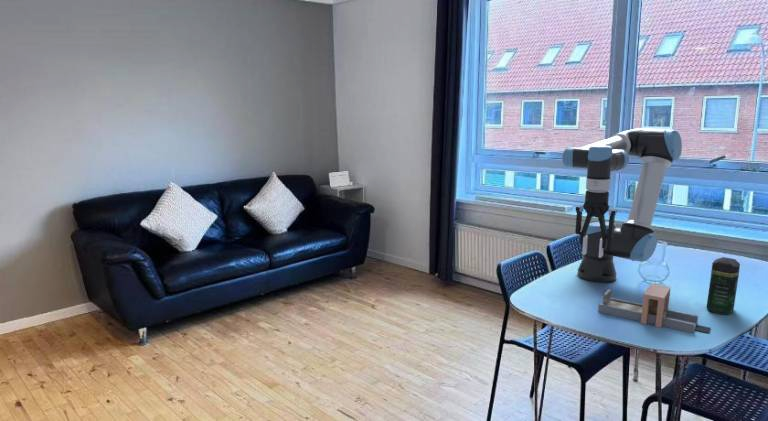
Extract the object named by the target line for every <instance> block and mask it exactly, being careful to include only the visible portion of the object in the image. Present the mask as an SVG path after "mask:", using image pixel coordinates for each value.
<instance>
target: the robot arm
mask: <svg viewBox="0 0 768 421" xmlns="http://www.w3.org/2000/svg"><path fill="white" fill-rule="evenodd" d="M682 143H683V142H682V137H681V134H680V132H678V131H677V130H675V129H667V128H663V129H662V128H640V127H639V128H633V129H632V128H631V129H629V130H623V131H621V132H617V133H614V134H613V135H611V136H610V137H609V138H607V139H606V138H605V139H603V140H599V141H596V142H594V143H589V144H586V145H584V146H579V147H575V146H573V147H571V146H570V147H566V148H565V149H564V150H563V152H562V155H561V156H562V163H563V165H564V167H568V168H572V169H585V170H586V171H587V172H586V183H585V189H586V191H585V196H584V203H583V205H577V206H576V207H575V208H574V209H575V212H576V217H575V232H574V233H575V235H578V236H580V239H579V244H580V246H582V251H581V255H582V259H581V262H580V263H579V265H578V268H577V276H578V277H579V278H580V279H583V280H586V281H590V282H595V283H596V282H597V283H610V282H615V281H616V280H617V271H616V266H615V263H614V257H615V258H622V259H625V260H629V261H630V260H631V261H633V262H640V263H642V262H647V261H649V259H651V257H652V256H653V254H654V253H655V251H656V248H657V244H658V243H657V242H658V237H657V235H656V234H655V233H654V232H655V230H654V228H653V226H652V222H653V219H654V217H655V216H654V215H655V212H656V208H657V204H658V201H659V196H660V193H661V190H662V185H663V182H664V178H665V176H666V175H665V174H666V171H667V168H670V167H671V166H672V164H673V161H677V160H679V159H680V157H681V156H682V150H683V148H682V146H683V145H682ZM630 157H636V158H639V161H640V163H642V167H641V169H640V172H639V173H640V174H639V177H638V181H637V185H636V188H635V192H634V195H633V198H632V202H631V207H630V210H629V214H628V217H627V220H625V221H624V222H622V224H621V226H620V227H617V223H616V222H615V219H616V218H615V217H616V216H617V213H618V210H617V209H612V208H610V205H609V195H610V192H609V190H610V187H611V186H610V183H611V172H618V171H621V170H623V169H625V168H626V167H627V166H628V164H629V160H630ZM584 211H585V213H586V216H585V220H584V223H583V222H582V219H583V218H582V217H583V212H584ZM607 213H608V215H609V218H608V221H606V220H605V219H606V218H605V214H607ZM592 218H597V220H598V221H595V222H591V220H592ZM582 223H583V225H582Z"/></svg>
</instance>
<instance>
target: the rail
mask: <svg viewBox="0 0 768 421" xmlns="http://www.w3.org/2000/svg"><path fill="white" fill-rule="evenodd" d="M610 300H611V301H616V302H621V303H626V304H631V305H635V306H640V307H642V305H643V303H639V302H635V301H634V302H633V301H629V300H624V299H619V298H615V297H611V298H610ZM597 312H598V313H603V314H606V315H611V316H615V317H621V318H626V319H629V320H633V321H638V322H641V315H642V312H638V311H633V310H629V309H624V308H619V307H614V306H610V305H605V304H603V303H598V309H597ZM665 312H667V313H666V317H663V319H662V327H664V328H665V327H666V328H669V329H670V328H671V329H675V330H679V331H683V332H689V333H693V334H694V332H695V327H696V325H698V319H699V315H698V314H694V313H688V312H683V311H679V310H673V309H669V308H668V309H665ZM656 316H657V315H652V314H648V318H647V323H648V324H651V325H656Z"/></svg>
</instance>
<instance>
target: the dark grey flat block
mask: <svg viewBox="0 0 768 421" xmlns="http://www.w3.org/2000/svg"><path fill="white" fill-rule="evenodd" d="M711 330H712V328H711V327H710V326H703V325H699V324H697V325H696V327H695V330H694V332H699V333H705V334H710V332H711Z"/></svg>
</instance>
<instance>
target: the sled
mask: <svg viewBox="0 0 768 421" xmlns="http://www.w3.org/2000/svg"><path fill="white" fill-rule="evenodd" d="M611 296H612V289H609V288H608V289H607V290H606V291H605V292H604V293H603V297H602V299H603V300H602V304H605V305H610V306H614V307H619V308H624V309H629V310H633V311H638V312H642V307H640V306H635V305H631V304H626V303H621V302H616V301H611V300H610V298H612V297H611ZM665 304H666V298H665V301H664V310H663V317H666V313H667V312H665ZM657 307H658V300H653V299H649V308H648V314H652V315H657Z"/></svg>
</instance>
